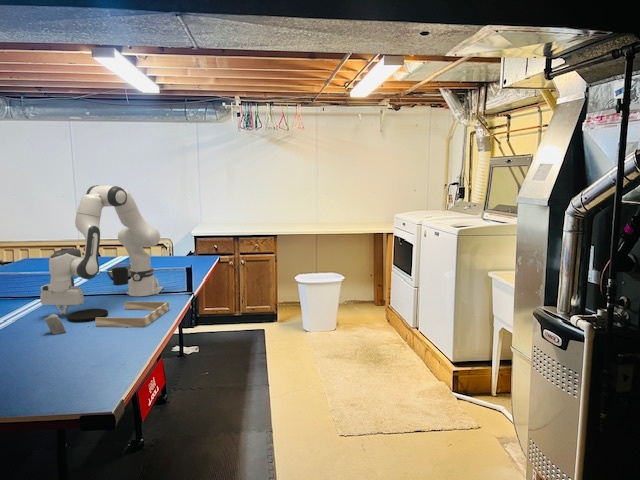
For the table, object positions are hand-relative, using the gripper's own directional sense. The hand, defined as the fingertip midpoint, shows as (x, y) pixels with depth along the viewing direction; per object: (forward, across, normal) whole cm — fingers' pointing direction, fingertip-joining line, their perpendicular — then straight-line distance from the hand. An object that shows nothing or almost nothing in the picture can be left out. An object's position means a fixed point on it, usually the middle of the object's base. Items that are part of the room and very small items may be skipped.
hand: (63, 313), depth 225 cm
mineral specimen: (+2, -11, +23) cm, 26 cm away
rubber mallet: (+2, +10, -22) cm, 24 cm away
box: (+2, -35, 0) cm, 35 cm away
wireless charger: (+2, -12, 0) cm, 12 cm away
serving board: (+2, +19, -101) cm, 103 cm away
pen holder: (+2, +8, -71) cm, 71 cm away
